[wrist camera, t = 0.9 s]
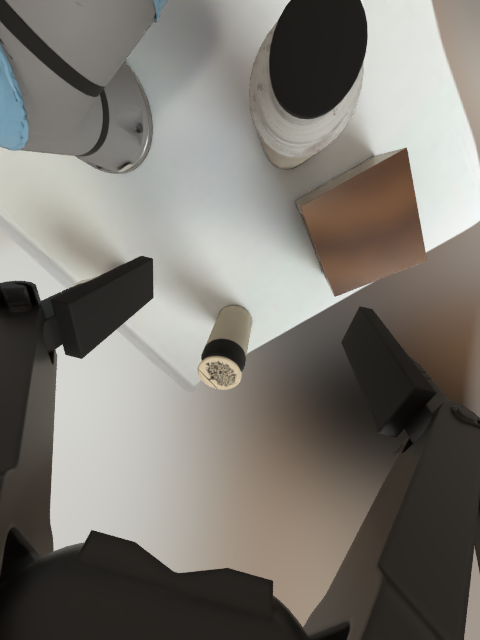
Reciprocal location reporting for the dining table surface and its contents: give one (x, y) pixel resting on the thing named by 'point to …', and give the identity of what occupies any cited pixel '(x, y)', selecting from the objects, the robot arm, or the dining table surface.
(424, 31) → the dining table surface
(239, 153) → the dining table surface
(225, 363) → the travel mug
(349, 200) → the box
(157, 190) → the dining table surface
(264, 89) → the thermos bottle
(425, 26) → the dining table surface
